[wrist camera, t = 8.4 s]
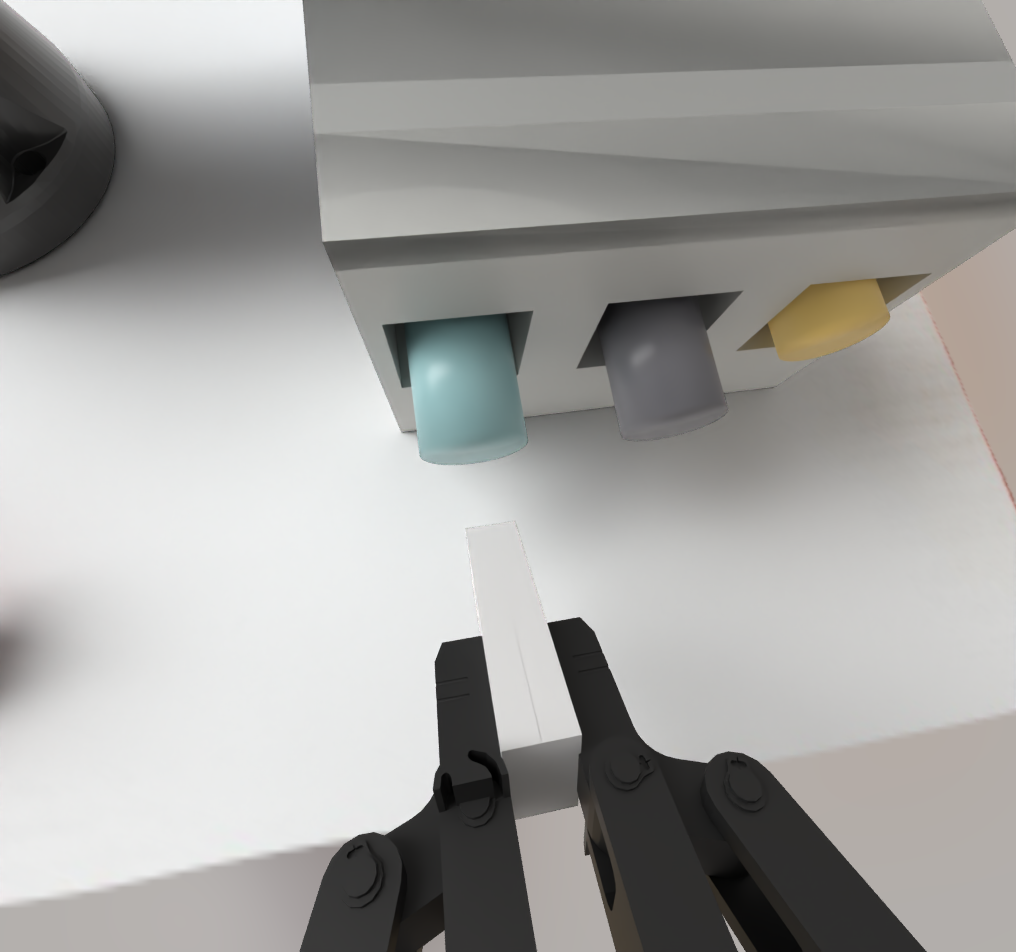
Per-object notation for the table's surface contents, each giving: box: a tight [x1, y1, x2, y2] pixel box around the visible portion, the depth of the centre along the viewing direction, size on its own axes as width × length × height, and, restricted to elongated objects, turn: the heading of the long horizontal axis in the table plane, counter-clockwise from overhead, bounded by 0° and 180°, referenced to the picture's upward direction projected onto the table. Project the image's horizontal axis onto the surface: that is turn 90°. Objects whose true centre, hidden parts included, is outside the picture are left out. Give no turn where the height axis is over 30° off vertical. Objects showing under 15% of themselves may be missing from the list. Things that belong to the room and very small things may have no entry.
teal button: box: [404, 313, 528, 465], centre depth 16 cm, size 5×4×4 cm
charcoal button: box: [597, 295, 728, 441], centre depth 17 cm, size 5×4×4 cm
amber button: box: [768, 278, 890, 361], centre depth 18 cm, size 5×4×4 cm
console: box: [303, 0, 1016, 432], centre depth 19 cm, size 8×20×13 cm, turn 99°
